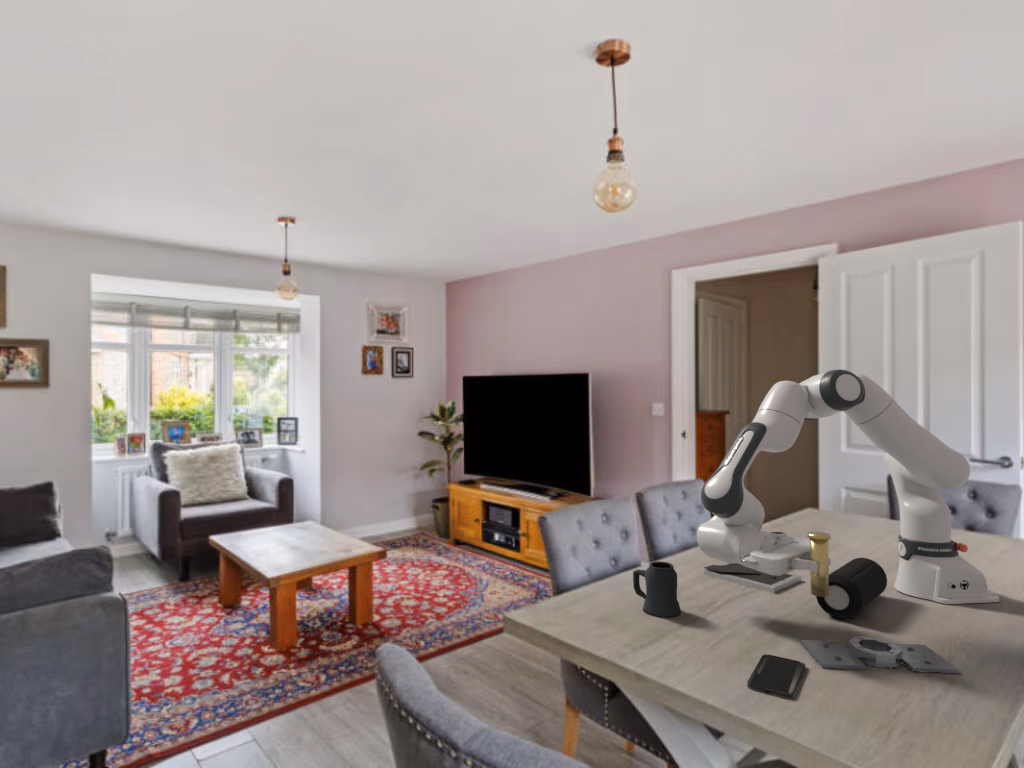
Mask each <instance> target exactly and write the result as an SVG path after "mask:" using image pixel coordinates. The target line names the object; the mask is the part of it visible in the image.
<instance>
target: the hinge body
mask: <svg viewBox="0 0 1024 768" xmlns="http://www.w3.org/2000/svg"><path fill="white" fill-rule="evenodd" d="M801 644H802V645H801ZM800 645H801V646H802V647H803V649H805V650H806V651H807V653H808V654H809V655H810V656H811V658H813V660H814V659H815V660H814V661H815V662H816V663H817V664H818V665H819V666H821V667H822V669H833V668H836V670H837V669H838V670H842V669H843V670H857V669H861V670H863V671H866V670H867V669H866V668H867V667H866V665H868V666H870V665H871V666H870V667H873V666H874V668H878V667H897V666H898V665H899V666H900V665H902V664H903V663H904V664H905V665H904V664H903V665H904V666H906V667H907V666H908V667H909V668H910V669H911V670H912V671H911V670H910V669H909V668H908V667H907V668H908V669H909V670H910V671H911V672H913V671H924V672H923V673H928V672H940V673H939V674H951V673H955V674H956V675H957V674H959V668H957V667H956V666H954V665H953V664H952V663H951V662H949V661H947V660H946V659H945V658H944V657H942V656H941V655H939V654H938V653H937V652H935V651H934V650H932V648H930V647H928V646H927V645H926V644H917V643H916V644H915V643H914V644H913V643H894V642H892V641H889V640H885V639H883V638H880V637H875V636H854V637H853V638H850V640H848V647H847V646H846V645H845V644H844V643H843V642H842V641H833V640H806V639H805V640H804V639H801V640H800ZM902 662H903V663H902ZM864 663H865V664H864ZM901 663H902V664H901ZM899 666H898V667H899ZM821 667H820V668H821ZM898 667H897V668H898ZM955 674H954V675H955Z"/></svg>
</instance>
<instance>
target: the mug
mask: <svg viewBox="0 0 1024 768" xmlns="http://www.w3.org/2000/svg"><path fill="white" fill-rule="evenodd" d="M632 574H633V575H632V579H633V581H632V583H633V589H634V592H635V594H636V595H637V596H639V597H641V598H642V599H644V603H643V606H642V611H643V613H645V614H646V615H647V616H648V615H649V616H651V617H654V618H661V619H662V618H663V619H666V618H667V619H671V618H676V617H679V616H680V615H682V614H681V613H682V611H681V606H680V603H679V601H678V573H677V572H676V570H675V567H674V564H672V563H671V562H668V561H652V562H650V563H649V564H648V567H647V568H646V570H645V569H635V570H633V571H632ZM640 576H641V577H643V578H644V580H645V586H646V589H645V590H646V592H644V591H643V589H641V586H640V584H641V583H640ZM645 593H646V594H645Z"/></svg>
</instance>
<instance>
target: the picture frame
mask: <svg viewBox="0 0 1024 768" xmlns="http://www.w3.org/2000/svg"><path fill="white" fill-rule="evenodd" d="M703 569H704V570H703V575H704V574H705V575H704V576H706V575H708V576H707V577H710V576H711V578H714V577H715V579H718V578H719V579H718V580H721V579H722V580H721V581H725V580H727V581H726V582H729V581H730V582H729V583H733V584H736V583H738V584H737V585H740V584H742V585H741V586H744V585H745V587H748V586H749V587H748V588H752V587H753V588H752V589H755V588H757V589H756V590H759V589H761V590H760V591H763V590H765V591H764V592H767V591H769V592H768V593H770V592H773V593H772V594H775V593H774V592H776V591H778V590H780V591H782V590H784V589H786V588H785V587H787V588H788V586H789V587H791V586H793V585H795V584H797V582H798V583H800V582H801V581H802V575H800V574H796V573H792V572H788V573H786V574H783V575H781V576H775V575H770V574H766V573H763V572H760V571H757V570H754V569H752V568H748V567H745V566H743V565H741V564H739V563H728V562H723V563H720V564H711V565H708V566H704V567H703ZM799 581H800V582H799ZM792 584H793V585H792ZM790 585H791V586H790ZM783 588H784V589H783ZM781 589H782V590H781ZM778 592H779V591H778ZM776 593H777V592H776Z"/></svg>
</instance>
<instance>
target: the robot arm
mask: <svg viewBox="0 0 1024 768" xmlns="http://www.w3.org/2000/svg"><path fill="white" fill-rule="evenodd" d="M841 412H843V413H845V414H846V415H847V416H848V417H849V419H850V420H851V421H852V422H853V423H854V424H855V425H856V427H858V429H859V430H860V431H861V432H862V433H863V434H864V435H865V437H867V438H868V439H869V440H870V441H871V442H872V443H873V444H874V445H875V446H876V447H878V448H879V449H881V450H882V451H883V452H885V454H884V456H883V462H884V463H883V464H884V466H885V468H886V470H887V471H888V473H889V474H890V476H891V478H892V483H893V487H894V489H895V490H894V491H895V493H896V496H897V502H898V507H899V527H900V534H899V535H898V541H897V542H898V546H897V548H898V549H897V550H898V556H899V562H898V568H897V569H898V570H897V574H896V578H895V581H894V583H893V588H894V589H895V590H896V591H898V592H900V593H903V594H905V595H908V596H912V597H915V598H920V599H925V600H929V601H932V602H933V601H934V602H937V603H940V604H945V605H957V604H958V605H959V604H962V605H963V604H983V603H984V604H985V603H986V604H987V603H1000V597H999V595H998V594H996V592H994V591H993V590H990V589H989V587H988V582H987V579H986V576H985V575H984V573H983V572H982V570H980V569H979V568H977V567H975V565H973V564H972V563H970V562H969V561H967V559H965V558H964V557H962V555H960V554H959V552H961V553H967V551H969V547H968V545H966V544H965V543H963V542H956V541H954V540H953V539H952V520H951V519H952V515H951V513H952V512H951V509H950V508H949V506H948V505H947V503H946V501H945V499H944V498H943V496H942V492H941V490H954V489H958V488H961V487H962V486H963V485H964V484H966V483H967V481H968V480H969V478H970V475H971V465H970V463H969V461H968V459H967V458H966V457H965V456H964V455H963V454H961V453H959V452H958V451H956V450H955V449H953V448H951V447H950V446H948V445H947V444H945V442H943V441H941V439H939V438H938V437H937V436H935V435H934V434H933V433H932V432H930V431H929V430H928V429H926V428H924V427H923V426H922V425H921V424H919V423H918V422H917V421H916V420H914V419H913V418H912V417H911V416H910V415H909V414H908V413H907V412H906V411H905V410H904V409H903V408H902V407H901V406H900V405H899V404H898V403H897V401H896V400H895V399H894V398H893V397H892V396H891V395H890V394H889V393H888V392H887V391H886V390H885V389H884V388H882V387H881V386H880V385H879V384H878V383H877V382H875V381H874V380H872V379H871V378H870V377H869V376H867V375H865V374H863V373H853V372H852V371H849V370H846V369H832V370H831V369H830V370H828V371H827V372H822V373H819V374H815V375H812V376H810V377H809V378H806V379H805V380H803V381H799V382H795V381H793V380H792V381H791V380H780V381H778V382H776V383H775V384H773V385H772V386H771V387H770V389H769V390H768V392H767V393H766V394H765V397H764V398H763V400H762V402H761V403H760V405H759V408H758V410H757V412H756V414H755V416H754V418H753V420H752V421H751V422H749V423H747V424H746V425H745V426H744V427H742V428H741V430H740V431H739V433H738V434H737V436H736V437H735V439H734V441H733V442H732V444H731V446H730V448H729V449H728V450H727V452H726V453H725V456H724V458H723V459H722V461H721V462H720V464H719V466H718V467H717V468H716V470H715V471H714V472H713V473H712V475H710V476H709V477H708V479H707V480H706V481H705V483H704V484H703V486H702V488H701V492H700V499H701V503H702V506H703V507H704V509H706V510H707V511H708V512H709V513H710V514H713V515H714V516H712V517H711V518H709V520H707V521H705V522H703V523H701V524H700V525H699V526H698V527H697V530H696V542H697V545H698V547H699V550H701V551H700V552H702V553H703V554H704V555H706V556H708V557H710V558H712V559H714V560H717V561H721V562H723V563H725V562H728V563H739V564H741V565H743V566H745V567H748V568H752V569H754V570H757V571H760V572H763V573H766V574H770V575H775V576H781V575H783V574H786V573H791V572H793V571H795V570H798V571H799V570H802V571H805V570H807V571H810V570H812V571H817V570H819V569H820V563H819V562H818V561H813V560H810V539H806V538H801V537H798V536H794V535H793V536H792V535H788V533H787V532H783V531H766V530H765V531H764V530H761V529H762V527H763V525H764V521H765V519H766V510H765V507H764V505H763V504H762V502H761V501H760V500H759V499H758V498H757V497H756V496H755V495H753V494H752V493H751V492H750V491H749V490H748V489H747V488H746V486H745V483H744V482H745V481H744V479H745V476H746V475H747V472H748V470H749V469H750V467H751V465H752V463H753V462H754V460H755V458H756V457H757V455H758V454H759V453H760V452H762V451H764V452H767V453H774V454H775V453H782V452H785V451H788V450H789V449H791V448H792V446H793V445H794V444H795V443H796V441H797V439H798V437H799V434H800V432H801V429H802V427H803V424H804V421H806V420H807V421H809V420H810V421H811V420H812V421H813V420H815V419H821V418H826V417H830V416H833V415H835V414H838V413H841ZM828 561H829V566H830V565H831V558H830V557H829V556H828Z"/></svg>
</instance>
